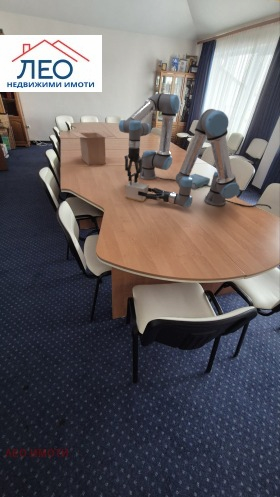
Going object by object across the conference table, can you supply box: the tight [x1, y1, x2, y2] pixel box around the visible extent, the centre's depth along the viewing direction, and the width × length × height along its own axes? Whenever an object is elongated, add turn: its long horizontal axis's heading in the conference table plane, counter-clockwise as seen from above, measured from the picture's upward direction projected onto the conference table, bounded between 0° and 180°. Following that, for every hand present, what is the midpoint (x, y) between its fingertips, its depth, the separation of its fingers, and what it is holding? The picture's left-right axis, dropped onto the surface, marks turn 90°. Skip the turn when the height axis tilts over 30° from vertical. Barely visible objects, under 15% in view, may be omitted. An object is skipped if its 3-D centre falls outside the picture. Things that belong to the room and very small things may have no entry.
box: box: [70, 129, 114, 166], centre depth 229 cm, size 44×36×27 cm
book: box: [189, 173, 211, 190], centre depth 197 cm, size 23×16×5 cm
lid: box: [125, 172, 150, 190], centre depth 160 cm, size 14×10×8 cm
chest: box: [125, 185, 149, 203], centre depth 165 cm, size 14×10×9 cm
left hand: (132, 181), depth 161 cm, fingers open, 4 cm apart
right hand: (141, 190), depth 163 cm, fingers closed on chest, 9 cm apart
